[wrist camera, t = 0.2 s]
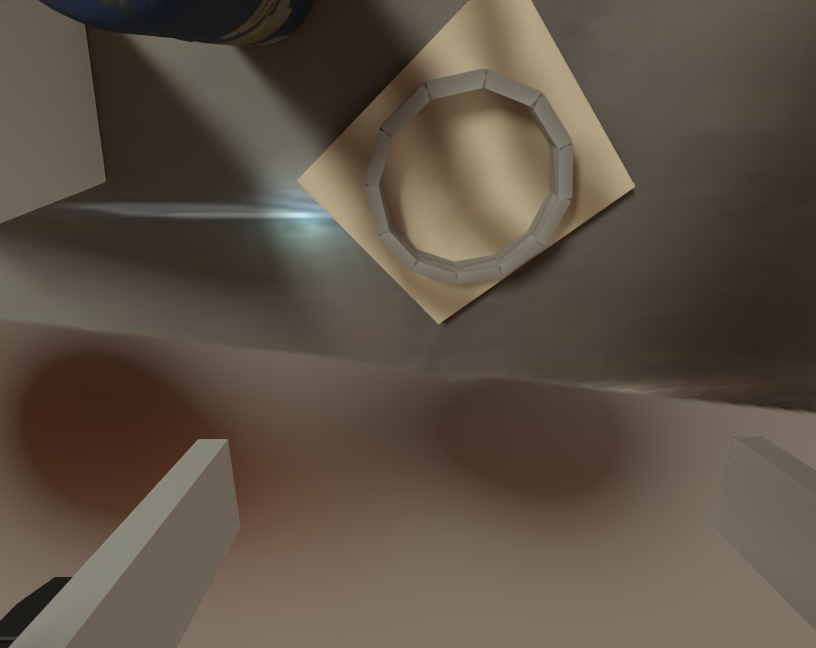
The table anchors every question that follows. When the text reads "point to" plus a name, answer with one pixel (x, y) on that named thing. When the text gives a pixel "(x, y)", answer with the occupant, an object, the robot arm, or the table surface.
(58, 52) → the gable box
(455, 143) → the ring holder board
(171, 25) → the canister
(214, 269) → the table surface
